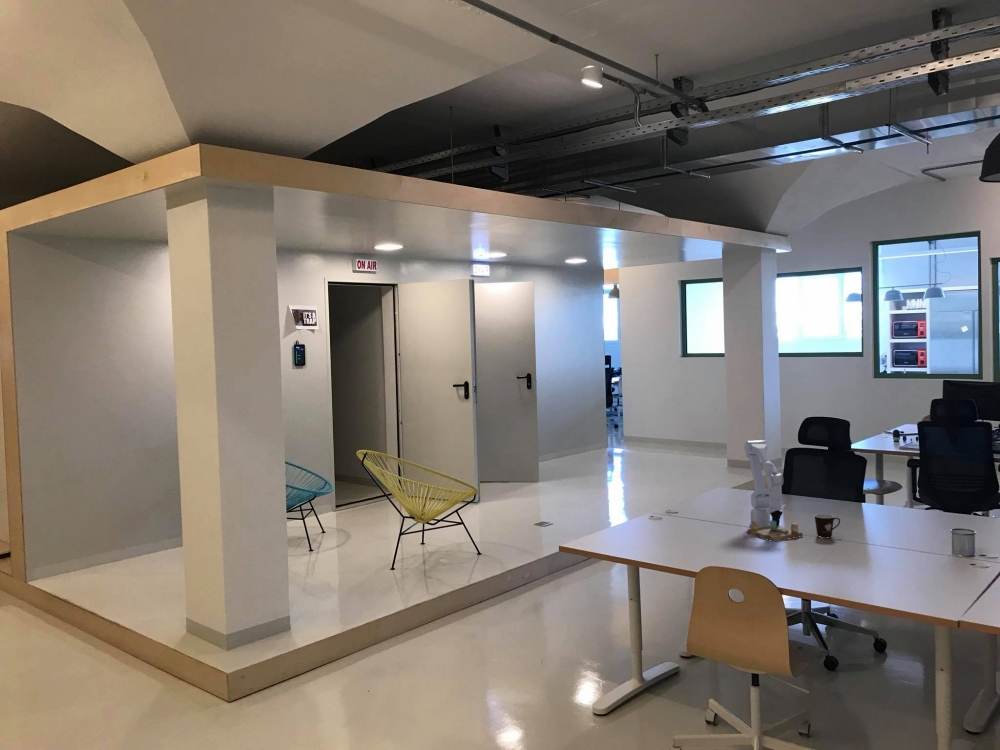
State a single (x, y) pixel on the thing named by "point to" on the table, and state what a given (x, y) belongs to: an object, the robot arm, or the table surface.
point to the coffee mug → (825, 524)
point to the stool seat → (774, 532)
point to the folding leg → (773, 527)
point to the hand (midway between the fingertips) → (776, 525)
